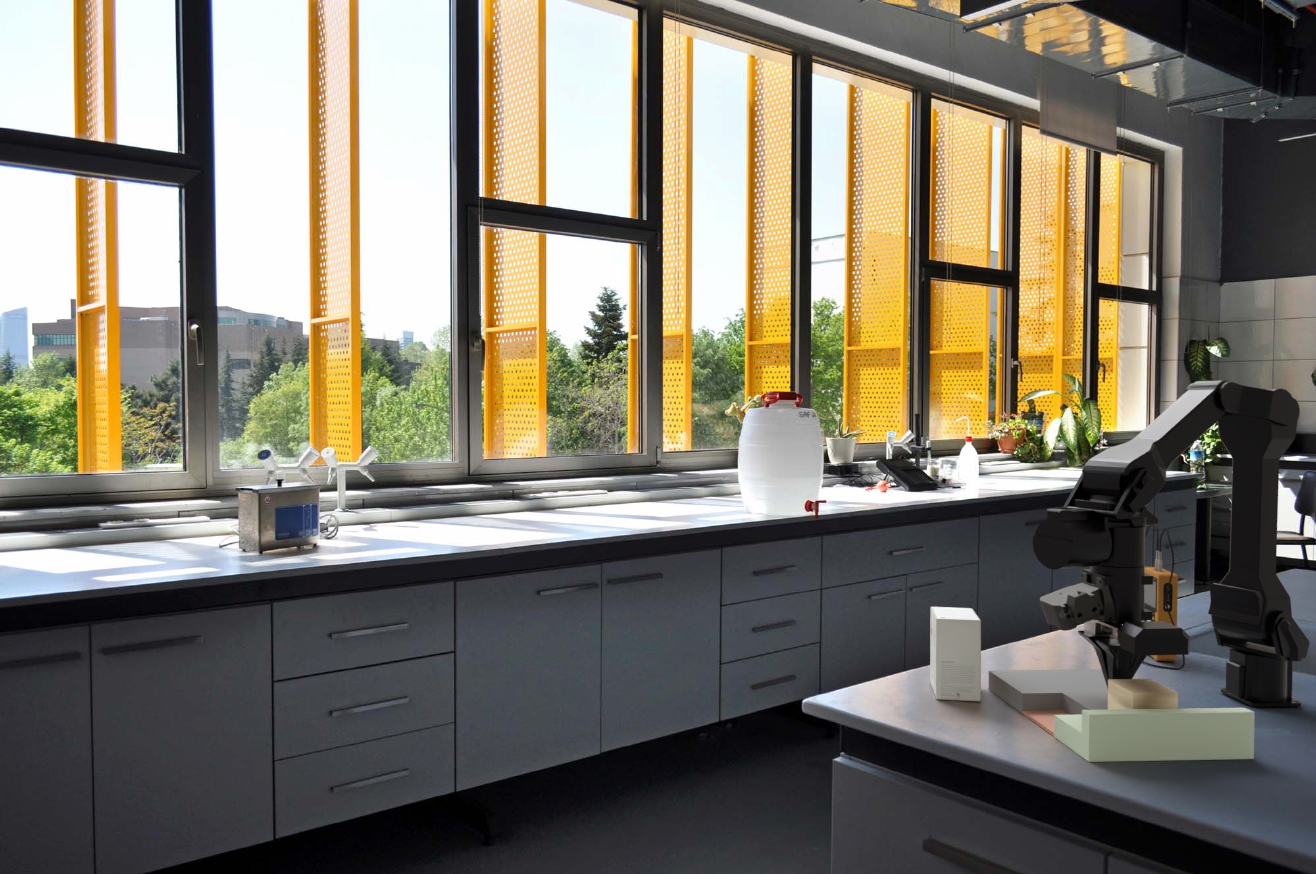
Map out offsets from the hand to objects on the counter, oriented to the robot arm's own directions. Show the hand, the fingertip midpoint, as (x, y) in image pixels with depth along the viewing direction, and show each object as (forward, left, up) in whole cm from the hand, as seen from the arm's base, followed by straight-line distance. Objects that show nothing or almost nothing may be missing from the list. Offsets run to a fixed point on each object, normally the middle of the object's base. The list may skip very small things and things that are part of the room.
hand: (1115, 696), depth 108 cm
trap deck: (0, -2, -3) cm, 4 cm away
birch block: (+1, +6, -1) cm, 6 cm away
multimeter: (-20, -30, -4) cm, 37 cm away
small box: (+14, -13, -4) cm, 20 cm away
